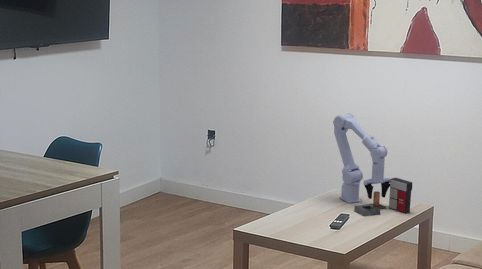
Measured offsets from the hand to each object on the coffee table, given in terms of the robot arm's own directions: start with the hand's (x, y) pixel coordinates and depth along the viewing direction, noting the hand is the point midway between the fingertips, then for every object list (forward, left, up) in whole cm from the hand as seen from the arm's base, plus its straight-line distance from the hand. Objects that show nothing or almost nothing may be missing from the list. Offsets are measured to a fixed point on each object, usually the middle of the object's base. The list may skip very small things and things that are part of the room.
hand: (376, 197), depth 381 cm
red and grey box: (+8, +8, -5) cm, 13 cm away
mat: (0, 0, -5) cm, 5 cm away
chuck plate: (+7, -9, -5) cm, 12 cm away
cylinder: (0, 0, -4) cm, 4 cm away
